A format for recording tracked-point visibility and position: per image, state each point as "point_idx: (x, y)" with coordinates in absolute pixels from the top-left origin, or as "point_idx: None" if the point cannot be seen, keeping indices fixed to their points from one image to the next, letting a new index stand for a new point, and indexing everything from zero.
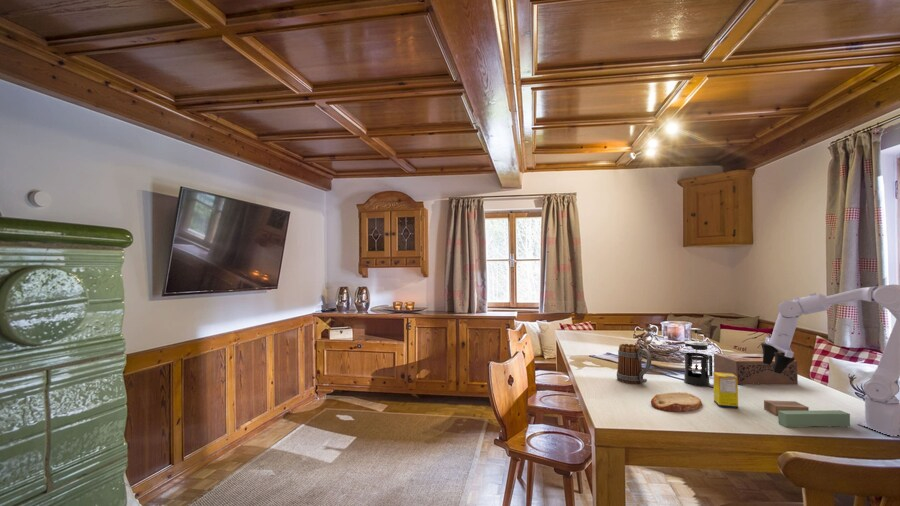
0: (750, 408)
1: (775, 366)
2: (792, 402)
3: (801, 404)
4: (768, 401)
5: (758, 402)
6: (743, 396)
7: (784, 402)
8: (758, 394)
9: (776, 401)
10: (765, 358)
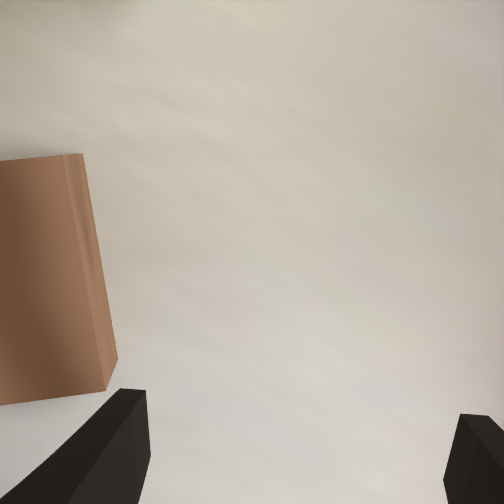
0: (78, 55)
1: (63, 448)
2: (65, 356)
3: (27, 396)
4: (31, 176)
5: (255, 196)
6: (390, 153)
7: (42, 295)
8: (454, 289)
9: (52, 244)
10: (500, 492)
